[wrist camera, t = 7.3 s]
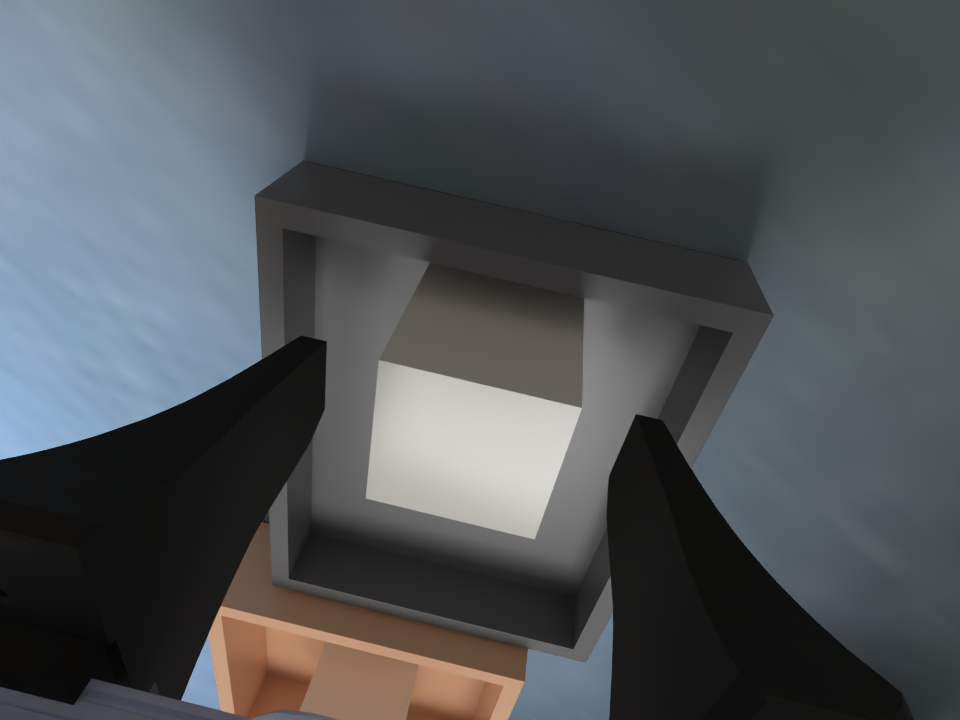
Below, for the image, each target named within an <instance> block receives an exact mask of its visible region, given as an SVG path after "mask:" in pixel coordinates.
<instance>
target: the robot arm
mask: <svg viewBox="0 0 960 720" xmlns="http://www.w3.org/2000/svg"><path fill="white" fill-rule="evenodd" d="M326 356H327V341H323V340H319V339H314V338H310V337H306V336H302V335H301V336H299V337H298V338H296V339H294V340H293V341H291V342H289V343H288V344H286V345H285V346H283V347H281V348H280V349H278V350H276V351H275V352H273V353H272V354H270V355H268V356H267V357H265V358H264V359H262V360H260V361H259V362H257V363H255V364H254V365H252V366H250V367H249V368H247V369H245V370H244V371H242V372H240V373H239V374H237V375H235V376H233V377H232V378H230V379H228V380H226V381H224V382H223V383H221V384H219V385H217V386H215V387H213V388H211V389H209V390H207V391H206V392H204V393H202V394H200V395H198V396H196V397H194V398H192V399H190V400H188V401H186V402H184V403H181V404H179V405H177V406H175V407H172V408H170V409H168V410H165V411H163V412H161V413H158V414H156V415H153V416H151V417H148V418H146V419H143V420H141V421H138V422H135V423H132V424H129V425H126V426H123V427H121V428H118V429H115V430H112V431H109V432H106V433H103V434H101V435H97V436H94V437H91V438H87V439H84V440H81V441H77V442H74V443H70V444H66V445H63V446H59V447H55V448H51V449H47V450H43V451H39V452H35V453H31V454H26V455H22V456H17V457H12V458H7V459H2V460H0V720H339V719H335V718H331V717H327V716H322V715H318V714H314V713H310V712H302V711H294V710H286V709H280V710H276V711H272V712H267V713H263V714H261V715H258V716H256V717H254V718H253V719H252V718H248V717H244V716H240V715H236V714H232V713H228V712H224V711H220V710H216V709H212V708H208V707H204V706H200V705H196V704H192V703H188V702H184V701H181V699H182V696H183V694H184V692H185V689H186V687H187V684H188V682H189V679H190V677H191V674H192V672H193V669H194V667H195V664H196V662H197V660H198V657H199V655H200V653H201V650H202V648H203V646H204V643H205V641H206V639H207V636H208V634H209V632H210V629H211V627H212V625H213V622H214V620H215V618H216V616H217V613H218V611H219V609H220V607H221V605H222V602H223V600H224V598H225V596H226V594H227V591H228V589H229V587H230V585H231V583H232V580H233V578H234V576H235V574H236V572H237V570H238V568H239V566H240V564H241V561H242V559H243V557H244V555H245V553H246V551H247V549H248V547H249V545H250V543H251V541H252V539H253V537H254V535H255V533H256V531H257V530H258V528H259V526H260V524H261V522H262V521H263V519H264V517H265V516H266V514H267V513H268V511H269V509H270V508H271V506H272V504H273V503H274V501H275V500H276V498H277V496H278V495H279V493H280V492H281V490H282V488H283V487H284V485H285V483H286V482H287V480H288V479H289V477H290V475H291V474H292V472H293V471H294V469H295V467H296V466H297V464H298V462H299V461H300V459H301V457H302V456H303V454H304V452H305V451H306V449H307V447H308V446H309V444H310V442H311V439H312V437H313V435H314V433H315V431H316V428H317V426H318V424H319V422H320V419H321V417H322V415H323V412H324V410H325V389H326ZM606 518H607V534H608V548H609V562H610V575H611V588H612V601H613V655H612V680H611V700H610V718H609V720H913V717H912V715H911V713H910V710H909V708H908V706H907V703H906V701H905V699H904V697H903V695H902V693H901V692H900V691H899V690H897V689H896V688H895V687H894V686H892V685H891V684H890V683H889V682H887V681H886V680H885V679H884V678H882V677H881V676H880V675H879V674H877V673H876V672H875V671H874V670H872V669H871V668H870V667H869V666H867V665H866V664H865V663H864V662H862V661H861V660H860V659H859V658H857V657H856V656H855V655H854V654H852V653H851V652H850V651H849V650H848V649H847V648H845V647H844V646H843V645H842V644H841V643H840V642H839V641H838V640H836V639H835V638H834V637H833V636H832V635H831V634H830V633H829V632H827V631H826V630H825V629H824V628H823V627H822V626H821V625H820V624H819V623H817V622H816V621H815V620H814V619H813V618H812V617H811V616H810V615H809V614H808V613H807V612H806V611H805V610H804V609H803V608H802V607H801V606H800V605H799V604H798V603H797V602H796V601H795V600H794V599H793V598H792V597H791V596H790V595H789V594H788V593H787V592H786V591H785V590H784V589H783V588H782V587H781V586H780V585H779V584H778V583H777V582H776V581H775V580H774V578H773V577H772V576H771V575H770V574H769V573H768V572H767V571H766V570H765V569H764V567H763V566H762V565H761V564H760V563H759V562H758V560H757V559H756V558H755V557H754V556H753V555H752V553H751V552H750V551H749V550H748V549H747V547H746V546H745V545H744V544H743V543H742V541H741V540H740V539H739V538H738V536H737V535H736V534H735V532H734V531H733V530H732V529H731V527H730V526H729V524H728V523H727V522H726V520H725V519H724V517H723V516H722V515H721V513H720V512H719V511H718V509H717V508H716V506H715V505H714V503H713V502H712V501H711V499H710V498H709V496H708V495H707V493H706V492H705V490H704V488H703V487H702V485H701V484H700V482H699V481H698V479H697V477H696V476H695V474H694V473H693V471H692V469H691V468H690V466H689V464H688V463H687V461H686V459H685V458H684V456H683V454H682V453H681V451H680V449H679V447H678V446H677V444H676V442H675V441H674V439H673V437H672V435H671V434H670V432H669V430H668V428H667V427H666V425H665V423H664V422H663V420H660V419H656V418H651V417H647V416H643V415H639V414H636V415H635V417H634V420H633V422H632V424H631V426H630V429H629V431H628V433H627V436H626V438H625V440H624V443H623V445H622V447H621V449H620V452H619V454H618V456H617V459H616V461H615V463H614V466H613V468H612V470H611V472H610V475H609V481H608V495H607V514H606Z"/></svg>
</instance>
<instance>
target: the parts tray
mask: <svg viewBox="0 0 960 720" xmlns="http://www.w3.org/2000/svg"><path fill="white" fill-rule="evenodd" d="M255 212H256V234H257V257H258V279H259V301H260V323H261V346H262V359H264V358H265V357H267V356H268V355H270V354H272V353H273V352H275V351H276V350H278V349H280V348H281V347H283V346H285V345H286V344H288V343H289V342H291V341H293V340H294V339H296V338H298V337H299V336H301V335H302V336H306V337H310V338H314V339H319V340H323V341H327V356H326V389H325V410H324V412H323V415H322V417H321V419H320V422H319V424H318V426H317V428H316V431H315V433H314V435H313V437H312V439H311V442H310V444H309V446H308V447H307V449H306V451H305V452H304V454H303V456H302V457H301V459H300V461H299V462H298V464H297V466H296V467H295V469H294V471H293V472H292V474H291V475H290V477H289V479H288V480H287V482H286V483H285V485H284V487H283V488H282V490H281V492H280V493H279V495H278V496H277V498H276V500H275V501H274V503H273V504H272V506H271V508H270V509H269V524H270V546H271V568H272V585H275V586H279V587H283V588H287V589H291V590H295V591H299V592H303V593H307V594H311V595H315V596H319V597H323V598H327V599H331V600H335V601H339V602H343V603H347V604H351V605H355V606H359V607H363V608H367V609H371V610H375V611H379V612H384V613H388V614H392V615H396V616H400V617H404V618H408V619H412V620H416V621H420V622H424V623H428V624H432V625H436V626H440V627H444V628H448V629H452V630H456V631H460V632H464V633H468V634H472V635H476V636H480V637H484V638H488V639H492V640H496V641H501V642H505V643H509V644H513V645H517V646H521V647H525V648H529V649H533V650H537V651H541V652H545V653H549V654H553V655H557V656H561V657H565V658H569V659H573V660H577V661H581V662H585V663H586V661H587V660H588V658H589V656H590V654H591V652H592V650H593V648H594V647H595V645H596V643H597V641H598V639H599V637H600V636H601V634H602V632H603V630H604V628H605V626H606V624H607V623H608V621H609V619H610V617H611V615H612V613H613V601H612V588H611V575H610V562H609V548H608V534H607V518H606V514H607V495H608V481H609V475H610V472H611V470H612V468H613V466H614V463H615V461H616V459H617V456H618V454H619V452H620V449H621V447H622V445H623V443H624V440H625V438H626V436H627V433H628V431H629V429H630V426H631V424H632V422H633V420H634V417H635V415H636V414H639V415H643V416H647V417H651V418H656V419H660V420H663V422H664V423H665V425H666V427H667V428H668V430H669V432H670V434H671V435H672V437H673V439H674V441H675V442H676V444H677V446H678V447H679V449H680V451H681V453H682V454H683V456H684V458H685V459H686V461H687V463H688V464H689V466H690V468H691V467H692V466H693V464H694V462H695V460H696V458H697V456H698V455H699V453H700V451H701V449H702V447H703V445H704V443H705V442H706V440H707V438H708V436H709V434H710V432H711V431H712V429H713V427H714V425H715V423H716V421H717V419H718V418H719V416H720V414H721V412H722V410H723V408H724V407H725V405H726V403H727V401H728V399H729V397H730V395H731V394H732V392H733V390H734V388H735V386H736V384H737V383H738V381H739V379H740V377H741V375H742V373H743V371H744V370H745V368H746V366H747V364H748V362H749V360H750V359H751V357H752V355H753V353H754V351H755V349H756V347H757V346H758V344H759V342H760V340H761V338H762V336H763V335H764V333H765V331H766V329H767V327H768V325H769V323H770V322H771V320H772V318H773V316H774V315H773V313H772V311H771V309H770V307H769V305H768V303H767V301H766V299H765V297H764V295H763V293H762V291H761V289H760V287H759V285H758V283H757V281H756V279H755V277H754V275H753V273H752V271H751V269H750V267H749V265H748V263H746V262H742V261H738V260H733V259H729V258H725V257H720V256H716V255H711V254H707V253H703V252H698V251H694V250H690V249H685V248H681V247H677V246H672V245H668V244H663V243H659V242H655V241H650V240H646V239H642V238H637V237H633V236H628V235H624V234H620V233H615V232H611V231H607V230H602V229H598V228H594V227H589V226H585V225H580V224H576V223H572V222H567V221H563V220H559V219H554V218H550V217H546V216H541V215H537V214H532V213H528V212H524V211H519V210H515V209H511V208H506V207H502V206H497V205H493V204H489V203H484V202H480V201H476V200H471V199H467V198H463V197H458V196H454V195H449V194H445V193H441V192H436V191H432V190H428V189H423V188H419V187H414V186H410V185H406V184H401V183H397V182H393V181H388V180H384V179H380V178H375V177H371V176H366V175H362V174H358V173H353V172H349V171H345V170H340V169H336V168H331V167H327V166H323V165H318V164H314V163H310V162H305V161H302V162H301V163H299V164H298V165H297V166H295V167H294V168H292V169H291V170H290V171H288V172H287V173H286V174H284V175H283V176H281V177H280V178H279V179H277V180H276V181H274V182H273V183H272V184H270V185H269V186H267V187H266V188H265V189H263V190H262V191H261V192H259V193H258V194H256V195H255ZM430 262H431V263H435V264H439V265H443V266H448V267H452V268H456V269H461V270H465V271H469V272H474V273H478V274H482V275H487V276H491V277H495V278H499V279H504V280H508V281H512V282H517V283H521V284H525V285H530V286H534V287H538V288H543V289H547V290H551V291H555V292H560V293H564V294H568V295H573V296H577V297H581V298H584V340H583V388H582V410H581V412H580V415H579V418H578V421H577V424H576V426H575V429H574V432H573V435H572V437H571V440H570V443H569V446H568V449H567V451H566V454H565V457H564V460H563V462H562V465H561V468H560V471H559V473H558V476H557V479H556V482H555V485H554V487H553V490H552V493H551V496H550V498H549V501H548V504H547V507H546V509H545V512H544V515H543V518H542V521H541V523H540V526H539V529H538V532H537V534H536V537H535V539H530V538H526V537H522V536H518V535H514V534H510V533H506V532H502V531H498V530H493V529H489V528H485V527H481V526H477V525H473V524H469V523H465V522H460V521H456V520H452V519H448V518H444V517H440V516H436V515H432V514H428V513H423V512H419V511H415V510H411V509H407V508H403V507H399V506H395V505H391V504H386V503H382V502H378V501H374V500H370V499H366V490H367V479H368V469H369V458H370V448H371V437H372V427H373V416H374V406H375V395H376V385H377V374H378V364H379V359H380V357H381V355H382V353H383V351H384V349H385V347H386V345H387V343H388V342H389V340H390V338H391V336H392V334H393V332H394V330H395V328H396V326H397V324H398V322H399V321H400V319H401V317H402V315H403V313H404V311H405V309H406V307H407V305H408V303H409V301H410V299H411V298H412V296H413V294H414V292H415V290H416V288H417V286H418V284H419V282H420V280H421V278H422V277H423V275H424V273H425V271H426V269H427V267H428V265H429V263H430Z"/></svg>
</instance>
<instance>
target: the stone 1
mask: <svg viewBox="0 0 960 720" xmlns="http://www.w3.org/2000/svg"><path fill="white" fill-rule="evenodd" d="M418 667H419V665H417V664H413V663H409V662H405V661H401V660H397V659H393V658H389V657H385V656H381V655H377V654H373V653H369V652H365V651H361V650H357V649H353V648H349V647H345V646H341V645H337V644H333V643H329V642H326V643H325V646H324V648H323V651H322V654H321V656H320V659H319V661H318V664H317V667H316V669H315V672H314V674H313V677H312V680H311V682H310V685H309V687H308V690H307V693H306V695H305V698H304V700H303V703H302V706H301V708H300V711H302V712H310V713H314V714H318V715H322V716H327V717H331V718H335V719H339V720H406V718H407V713H408V709H409V705H410V701H411V697H412V693H413V688H414V684H415V680H416V676H417V671H418Z"/></svg>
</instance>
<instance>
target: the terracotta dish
mask: <svg viewBox="0 0 960 720" xmlns="http://www.w3.org/2000/svg"><path fill="white" fill-rule="evenodd" d="M208 636H209V642H210V648H211V655H212V661H213V667H214V673H215V679H216V685H217V691H218V697H219V703H220V709H221V711H224V712H228V713H232V714H236V715H240V716H244V717H248V718H252V719H253V718H254V717H256V716H258V715H261V714H263V713H267V712H272V711H276V710H280V709H286V710H294V711H300V708H301V706H302V703H303V700H304V698H305V695H306V693H307V690H308V687H309V685H310V682H311V680H312V677H313V674H314V672H315V669H316V667H317V664H318V661H319V659H320V656H321V654H322V651H323V648H324V646H325V643H326V642H329V643H333V644H337V645H341V646H345V647H349V648H353V649H357V650H361V651H365V652H369V653H373V654H377V655H381V656H385V657H389V658H393V659H397V660H401V661H405V662H409V663H413V664H417V665H419V667H418V671H417V676H416V680H415V684H414V688H413V693H412V697H411V701H410V705H409V709H408V713H407V718H406V720H508V718H509V716H510V714H511V711H512V709H513V707H514V705H515V702H516V700H517V698H518V696H519V693H520V691H521V689H522V687H523V684H524V682H525V673H526V662H527V651H528V648H525V647H521V646H517V645H513V644H509V643H505V642H501V641H496V640H492V639H488V638H484V637H480V636H476V635H472V634H468V633H464V632H460V631H456V630H452V629H448V628H444V627H440V626H436V625H432V624H428V623H424V622H420V621H416V620H412V619H408V618H404V617H400V616H396V615H392V614H388V613H384V612H379V611H375V610H371V609H367V608H363V607H359V606H355V605H351V604H347V603H343V602H339V601H335V600H331V599H327V598H323V597H319V596H315V595H311V594H307V593H303V592H299V591H295V590H291V589H287V588H283V587H279V586H275V585H272V568H271V546H270V524H269V523H265V522H261V524H260V526H259V528H258V530H257V531H256V533H255V535H254V537H253V539H252V541H251V543H250V545H249V547H248V549H247V551H246V553H245V555H244V557H243V559H242V561H241V564H240V566H239V568H238V570H237V572H236V574H235V576H234V578H233V580H232V583H231V585H230V587H229V589H228V591H227V594H226V596H225V598H224V600H223V602H222V605H221V607H220V609H219V611H218V613H217V616H216V618H215V620H214V622H213V625H212V627H211V629H210V632H209V634H208Z"/></svg>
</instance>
